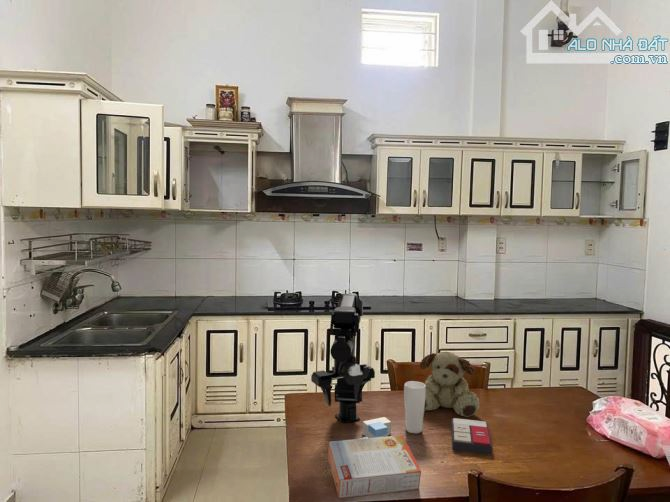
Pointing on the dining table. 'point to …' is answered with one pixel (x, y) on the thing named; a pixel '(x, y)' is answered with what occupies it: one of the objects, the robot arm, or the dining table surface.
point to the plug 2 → (377, 430)
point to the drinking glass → (414, 405)
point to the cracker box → (373, 466)
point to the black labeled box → (471, 436)
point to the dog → (449, 384)
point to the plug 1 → (382, 420)
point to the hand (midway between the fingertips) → (343, 403)
